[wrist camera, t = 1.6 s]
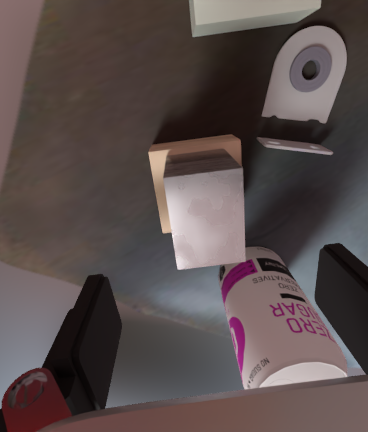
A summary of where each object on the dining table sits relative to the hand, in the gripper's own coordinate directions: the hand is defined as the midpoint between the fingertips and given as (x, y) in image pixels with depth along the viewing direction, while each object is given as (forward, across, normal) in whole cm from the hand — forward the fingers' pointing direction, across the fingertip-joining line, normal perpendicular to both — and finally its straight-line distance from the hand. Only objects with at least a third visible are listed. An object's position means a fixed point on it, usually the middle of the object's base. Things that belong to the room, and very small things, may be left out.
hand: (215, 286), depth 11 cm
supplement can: (+18, -6, +13) cm, 23 cm away
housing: (+14, -1, 0) cm, 14 cm away
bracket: (+18, -11, -6) cm, 22 cm away
